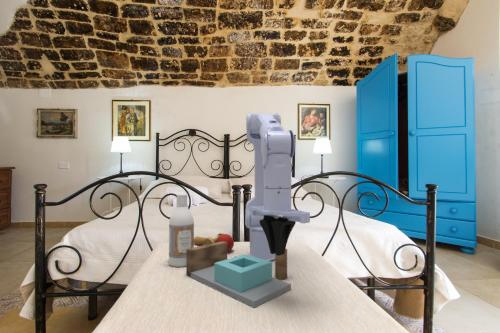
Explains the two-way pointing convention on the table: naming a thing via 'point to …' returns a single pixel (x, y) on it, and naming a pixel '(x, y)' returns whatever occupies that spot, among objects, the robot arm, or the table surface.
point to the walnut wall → (205, 256)
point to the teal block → (243, 272)
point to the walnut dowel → (281, 266)
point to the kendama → (216, 240)
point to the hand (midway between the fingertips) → (277, 253)
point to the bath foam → (180, 232)
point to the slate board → (249, 296)
